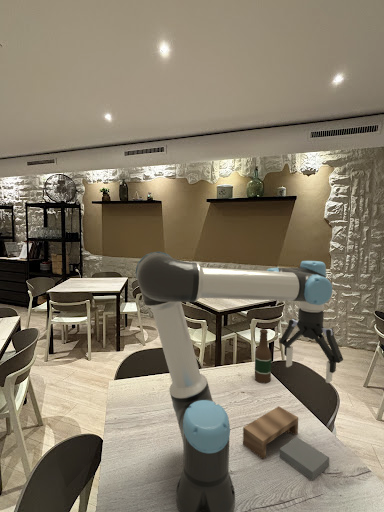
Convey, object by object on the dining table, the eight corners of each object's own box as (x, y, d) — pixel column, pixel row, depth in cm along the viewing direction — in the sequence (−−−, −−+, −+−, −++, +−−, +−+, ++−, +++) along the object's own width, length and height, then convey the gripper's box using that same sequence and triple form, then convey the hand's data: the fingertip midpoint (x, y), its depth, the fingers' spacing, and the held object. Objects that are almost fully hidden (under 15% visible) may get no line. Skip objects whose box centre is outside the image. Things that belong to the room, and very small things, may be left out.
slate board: (312, 482, 81) (312, 472, 81) (279, 457, 90) (279, 448, 90) (328, 466, 87) (329, 457, 86) (296, 445, 95) (296, 436, 95)
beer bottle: (267, 385, 132) (269, 333, 130) (251, 380, 136) (252, 330, 134) (273, 378, 138) (274, 329, 136) (257, 373, 142) (258, 326, 140)
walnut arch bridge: (262, 459, 89) (263, 441, 88) (242, 444, 95) (243, 427, 95) (297, 433, 100) (298, 417, 100) (278, 421, 107) (278, 406, 106)
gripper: (357, 316, 86) (353, 384, 88) (282, 300, 105) (280, 357, 106) (347, 320, 81) (343, 393, 83) (270, 303, 100) (268, 363, 101)
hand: (307, 373), depth 94 cm, fingers open, 13 cm apart
